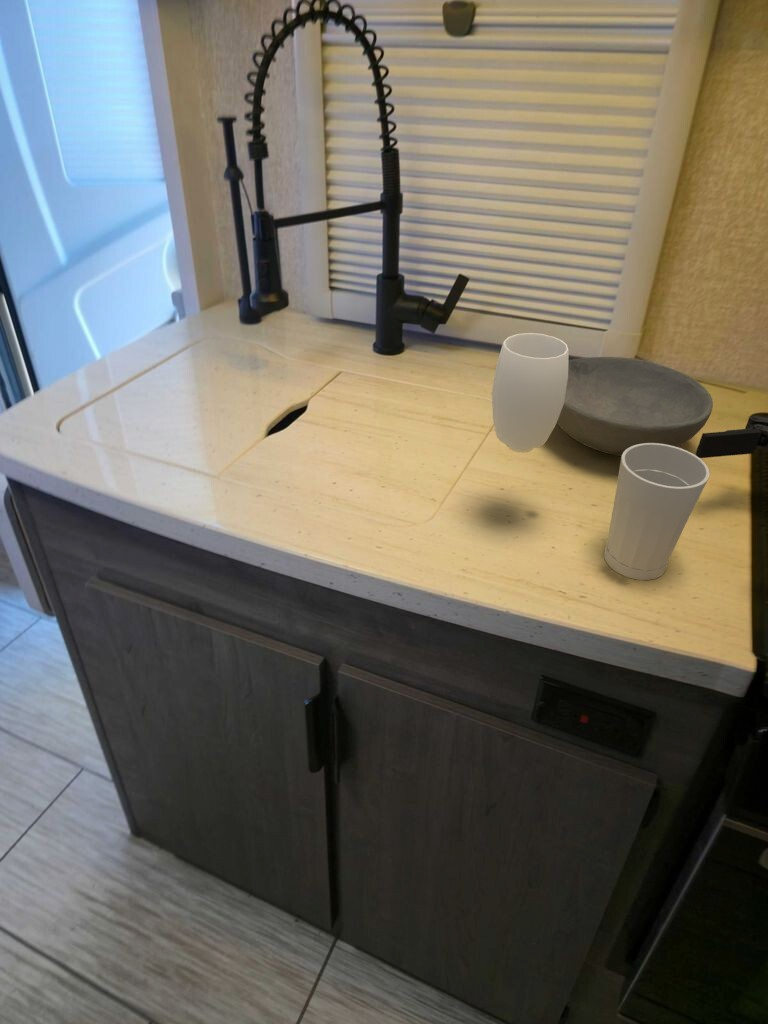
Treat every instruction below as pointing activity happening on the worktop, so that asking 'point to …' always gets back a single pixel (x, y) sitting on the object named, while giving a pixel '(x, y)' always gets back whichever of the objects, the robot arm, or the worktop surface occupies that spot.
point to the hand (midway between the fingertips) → (737, 481)
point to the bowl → (631, 404)
